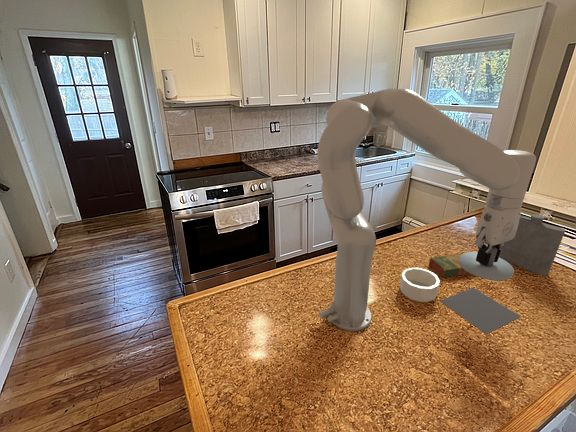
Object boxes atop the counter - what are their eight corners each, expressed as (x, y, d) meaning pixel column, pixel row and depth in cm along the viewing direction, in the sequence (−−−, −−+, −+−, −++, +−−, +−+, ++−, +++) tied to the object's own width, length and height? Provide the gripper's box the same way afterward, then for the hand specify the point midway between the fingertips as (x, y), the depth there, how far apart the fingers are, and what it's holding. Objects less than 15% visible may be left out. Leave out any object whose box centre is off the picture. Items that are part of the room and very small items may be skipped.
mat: (485, 335, 81) (486, 334, 81) (439, 302, 94) (440, 300, 94) (520, 318, 87) (521, 316, 87) (472, 288, 99) (473, 287, 99)
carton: (482, 273, 108) (485, 263, 106) (442, 280, 105) (444, 269, 103) (465, 261, 115) (468, 251, 113) (427, 266, 112) (429, 257, 111)
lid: (492, 285, 77) (498, 266, 75) (448, 261, 88) (452, 243, 85) (523, 273, 82) (530, 254, 79) (479, 250, 93) (483, 233, 90)
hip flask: (549, 274, 106) (570, 222, 97) (544, 277, 104) (564, 225, 96) (502, 253, 118) (516, 206, 110) (496, 256, 117) (510, 209, 108)
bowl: (417, 308, 92) (420, 292, 89) (392, 288, 101) (394, 273, 99) (443, 297, 96) (447, 282, 93) (417, 279, 105) (419, 264, 103)
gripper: (497, 211, 71) (478, 276, 78) (540, 199, 76) (519, 261, 84) (468, 200, 77) (453, 261, 84) (510, 190, 83) (492, 248, 90)
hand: (486, 260), depth 84 cm, fingers closed on lid, 3 cm apart
